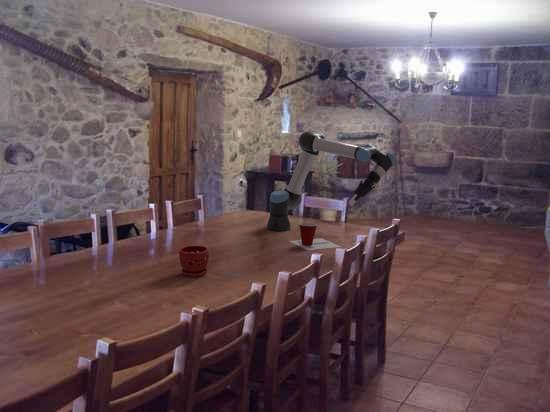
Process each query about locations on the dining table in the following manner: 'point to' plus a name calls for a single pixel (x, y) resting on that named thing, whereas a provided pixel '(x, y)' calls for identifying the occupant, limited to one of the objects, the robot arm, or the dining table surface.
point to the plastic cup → (307, 233)
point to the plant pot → (194, 260)
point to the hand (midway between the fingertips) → (350, 204)
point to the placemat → (316, 244)
